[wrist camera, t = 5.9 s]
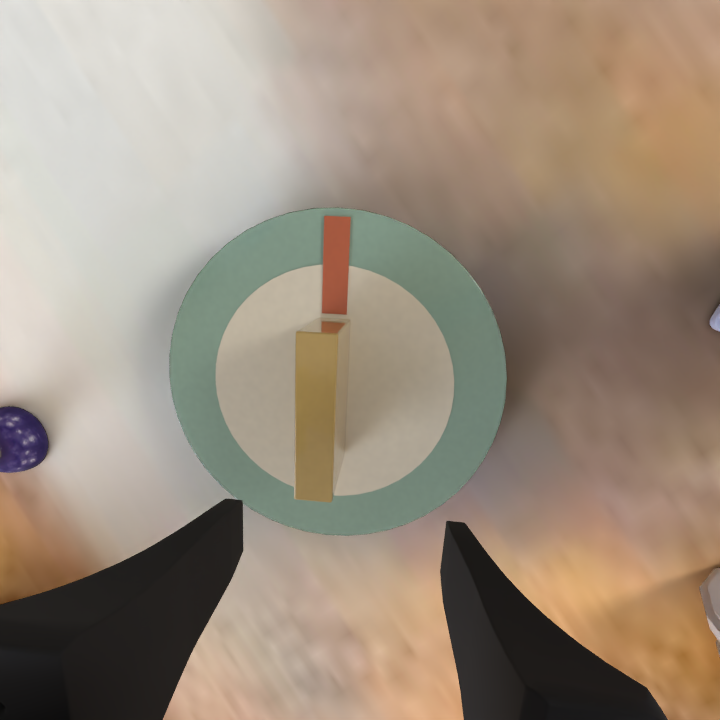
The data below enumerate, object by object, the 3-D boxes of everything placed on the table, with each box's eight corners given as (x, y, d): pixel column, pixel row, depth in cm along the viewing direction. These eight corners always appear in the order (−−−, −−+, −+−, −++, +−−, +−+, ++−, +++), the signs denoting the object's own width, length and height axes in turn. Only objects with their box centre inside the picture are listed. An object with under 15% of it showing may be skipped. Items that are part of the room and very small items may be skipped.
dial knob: (481, 540, 22) (508, 625, 16) (186, 512, 23) (125, 582, 18) (525, 217, 18) (579, 195, 13) (166, 203, 19) (82, 178, 14)
